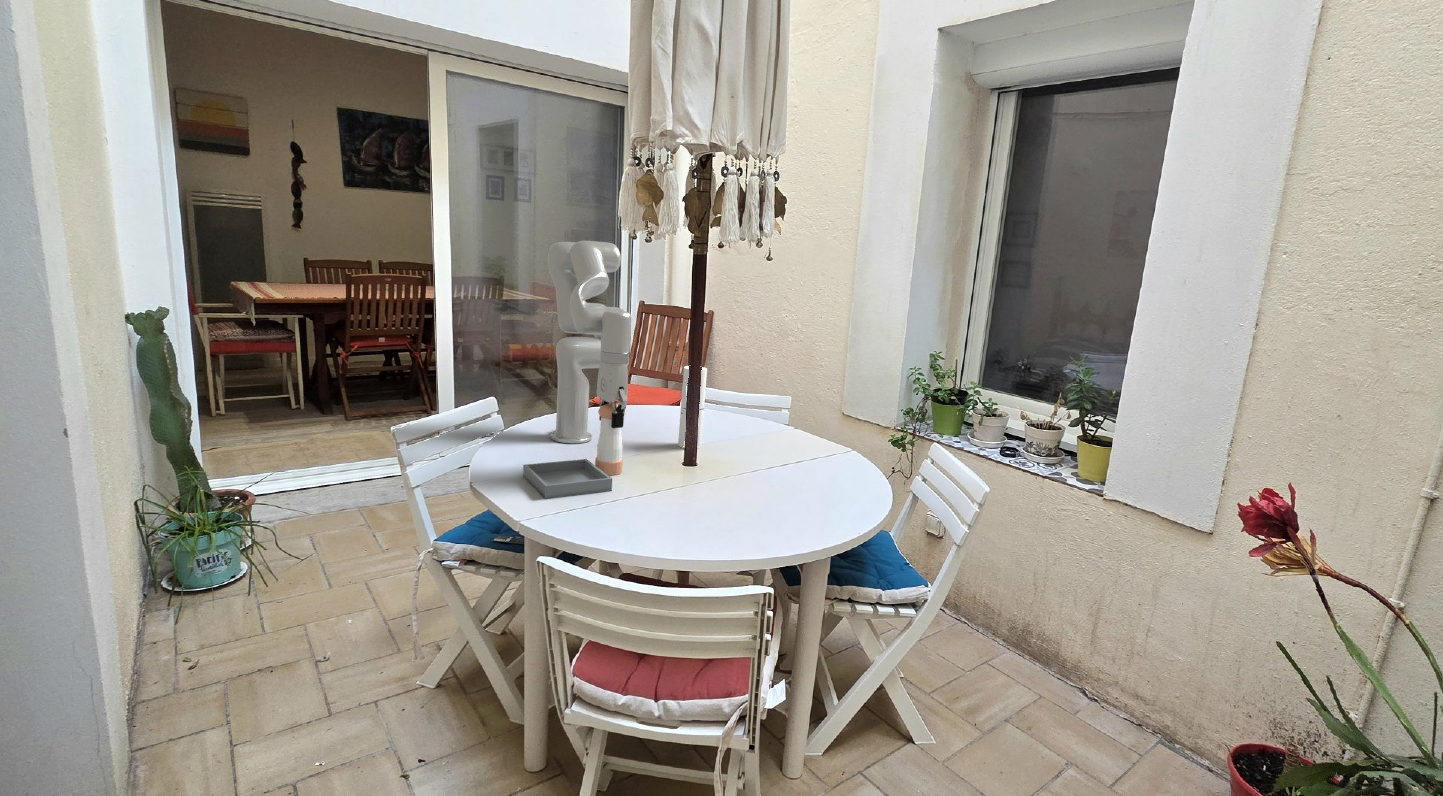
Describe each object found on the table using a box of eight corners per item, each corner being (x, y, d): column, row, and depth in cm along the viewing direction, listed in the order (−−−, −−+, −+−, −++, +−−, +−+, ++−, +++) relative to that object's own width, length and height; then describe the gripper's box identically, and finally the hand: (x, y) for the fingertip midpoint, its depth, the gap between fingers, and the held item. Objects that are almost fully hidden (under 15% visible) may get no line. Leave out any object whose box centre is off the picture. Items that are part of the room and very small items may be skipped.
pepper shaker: (617, 466, 194) (621, 398, 190) (625, 474, 187) (629, 405, 184) (591, 467, 191) (595, 399, 187) (598, 476, 184) (602, 405, 180)
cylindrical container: (690, 450, 215) (697, 370, 210) (673, 445, 219) (679, 367, 214) (705, 447, 220) (711, 369, 215) (687, 441, 225) (694, 365, 220)
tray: (523, 476, 179) (523, 464, 178) (585, 470, 188) (586, 458, 187) (545, 498, 165) (545, 485, 164) (611, 490, 174) (612, 478, 174)
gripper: (588, 352, 188) (585, 416, 191) (615, 364, 174) (611, 433, 177) (614, 352, 192) (610, 415, 195) (642, 363, 178) (638, 431, 181)
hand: (611, 423), depth 186 cm, fingers closed on pepper shaker, 7 cm apart
